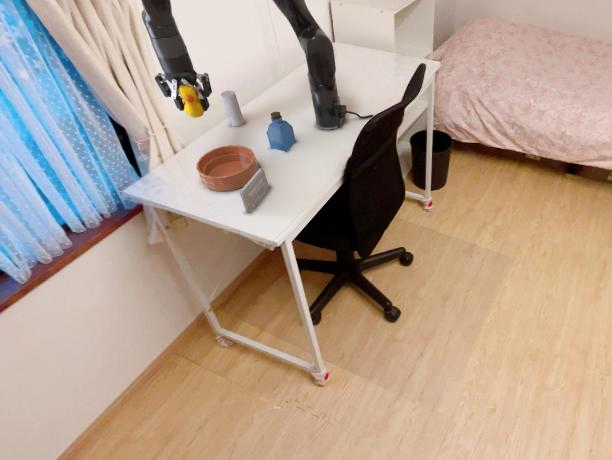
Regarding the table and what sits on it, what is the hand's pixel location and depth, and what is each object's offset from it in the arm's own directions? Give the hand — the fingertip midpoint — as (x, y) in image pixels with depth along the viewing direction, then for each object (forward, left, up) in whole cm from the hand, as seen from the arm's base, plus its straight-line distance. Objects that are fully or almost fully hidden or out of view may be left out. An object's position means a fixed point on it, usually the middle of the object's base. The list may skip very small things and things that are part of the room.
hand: (194, 109), depth 124 cm
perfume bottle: (-18, -14, -22) cm, 32 cm away
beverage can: (+2, -28, -22) cm, 36 cm away
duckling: (0, 0, -2) cm, 2 cm away
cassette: (-17, +15, -22) cm, 31 cm away
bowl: (-5, +3, -22) cm, 22 cm away
